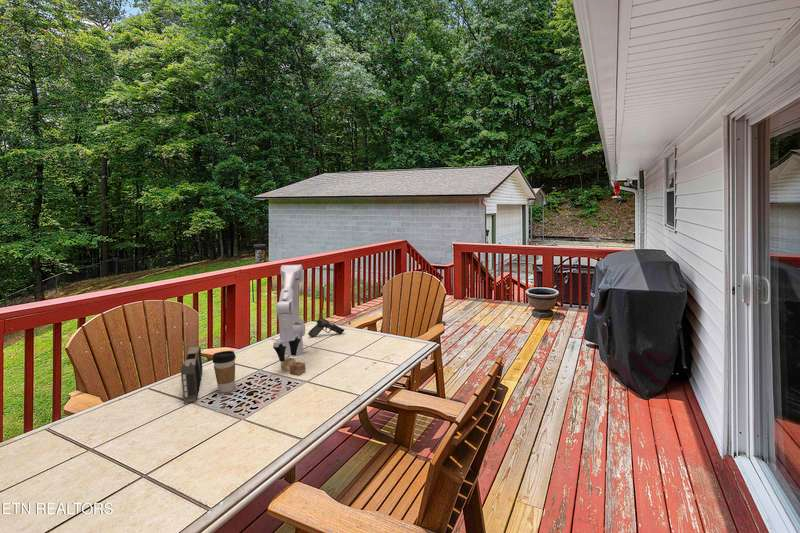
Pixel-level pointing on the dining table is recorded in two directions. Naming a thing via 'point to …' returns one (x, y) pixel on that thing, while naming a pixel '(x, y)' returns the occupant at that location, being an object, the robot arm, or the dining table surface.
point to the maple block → (287, 363)
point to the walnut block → (297, 368)
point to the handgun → (320, 326)
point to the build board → (298, 376)
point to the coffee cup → (225, 370)
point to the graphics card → (191, 374)
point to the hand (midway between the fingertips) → (287, 358)
